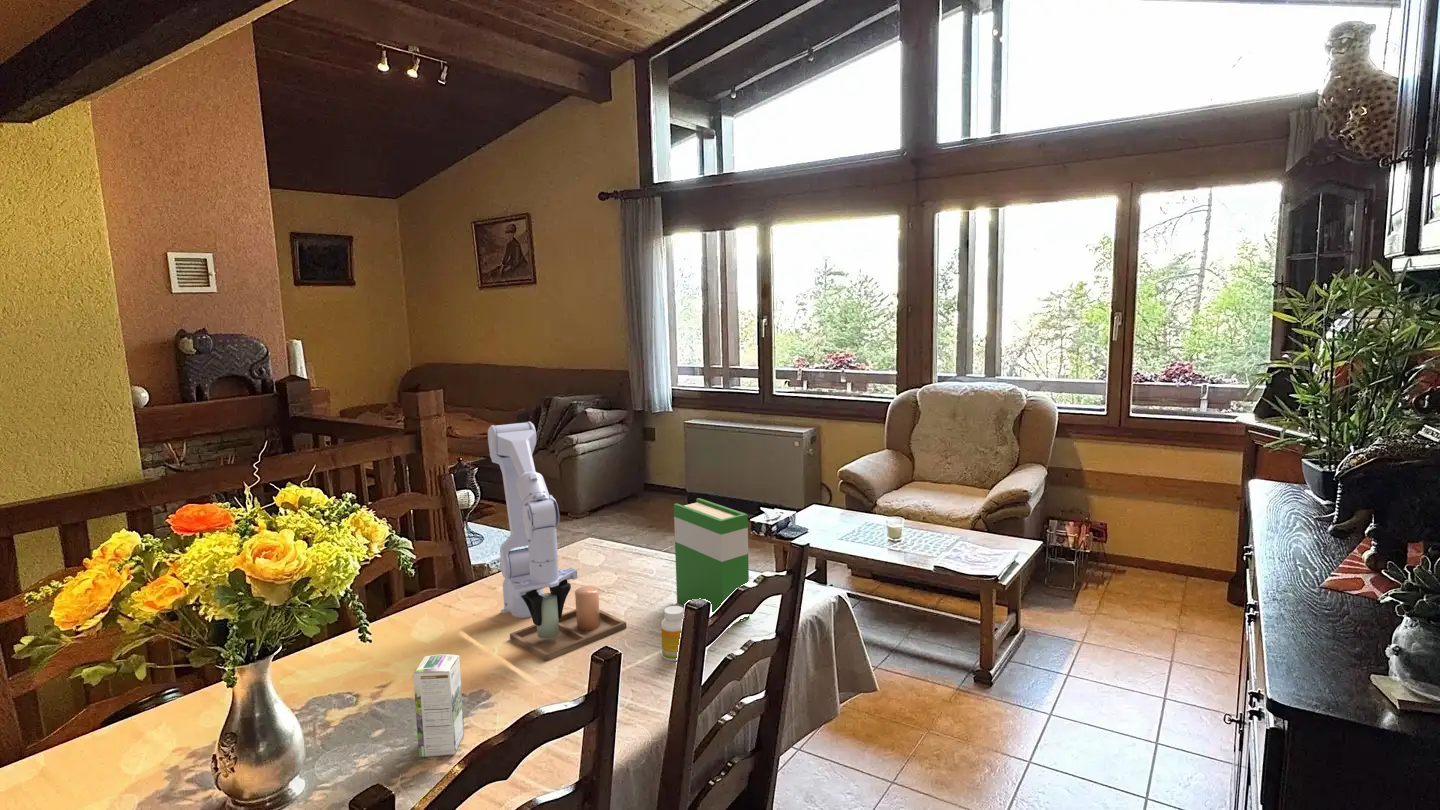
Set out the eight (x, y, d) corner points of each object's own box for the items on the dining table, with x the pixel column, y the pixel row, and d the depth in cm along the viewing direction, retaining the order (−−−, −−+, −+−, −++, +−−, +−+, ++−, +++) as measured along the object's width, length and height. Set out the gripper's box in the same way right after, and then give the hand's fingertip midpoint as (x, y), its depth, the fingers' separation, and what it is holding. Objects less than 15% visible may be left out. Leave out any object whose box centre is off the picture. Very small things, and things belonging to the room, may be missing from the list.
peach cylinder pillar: (572, 625, 161) (570, 591, 160) (591, 618, 165) (589, 584, 164) (585, 632, 158) (583, 597, 157) (604, 625, 161) (603, 590, 160)
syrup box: (429, 737, 123) (422, 655, 121) (465, 734, 123) (459, 652, 121) (418, 758, 117) (410, 672, 115) (456, 755, 118) (449, 670, 116)
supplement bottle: (685, 663, 146) (683, 616, 144) (659, 661, 147) (657, 614, 145) (691, 650, 151) (690, 604, 149) (666, 648, 152) (664, 603, 150)
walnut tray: (510, 642, 156) (509, 633, 156) (589, 612, 170) (588, 604, 170) (546, 664, 146) (545, 655, 146) (626, 631, 160) (626, 622, 160)
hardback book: (677, 602, 174) (673, 504, 171) (702, 594, 179) (699, 498, 175) (723, 627, 160) (720, 521, 157) (749, 618, 165) (747, 514, 161)
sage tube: (533, 634, 154) (531, 597, 153) (551, 627, 157) (549, 591, 156) (544, 640, 151) (542, 603, 150) (563, 633, 154) (561, 596, 153)
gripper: (521, 572, 144) (526, 638, 146) (584, 553, 154) (587, 614, 156) (503, 563, 149) (508, 627, 151) (565, 545, 159) (568, 605, 161)
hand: (547, 620), depth 154 cm, fingers closed on sage tube, 4 cm apart
